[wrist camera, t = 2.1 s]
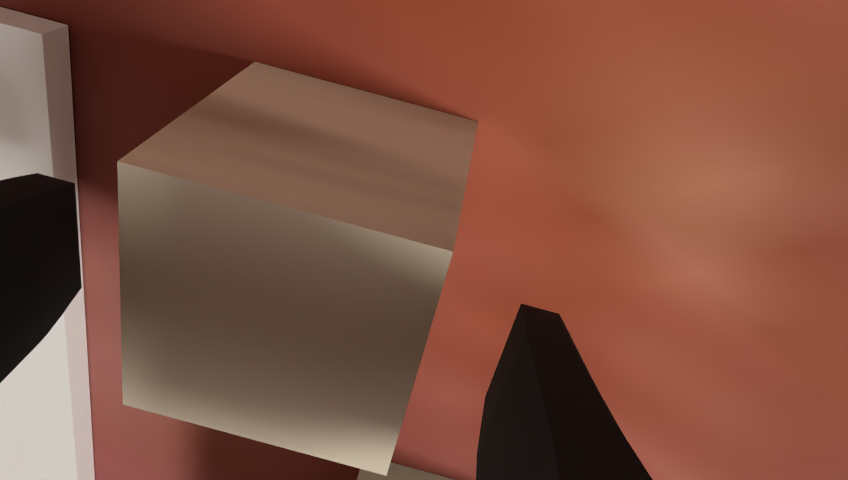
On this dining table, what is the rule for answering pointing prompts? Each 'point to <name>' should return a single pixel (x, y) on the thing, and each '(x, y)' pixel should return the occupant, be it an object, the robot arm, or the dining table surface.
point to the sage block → (400, 474)
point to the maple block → (288, 261)
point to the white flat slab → (66, 342)
